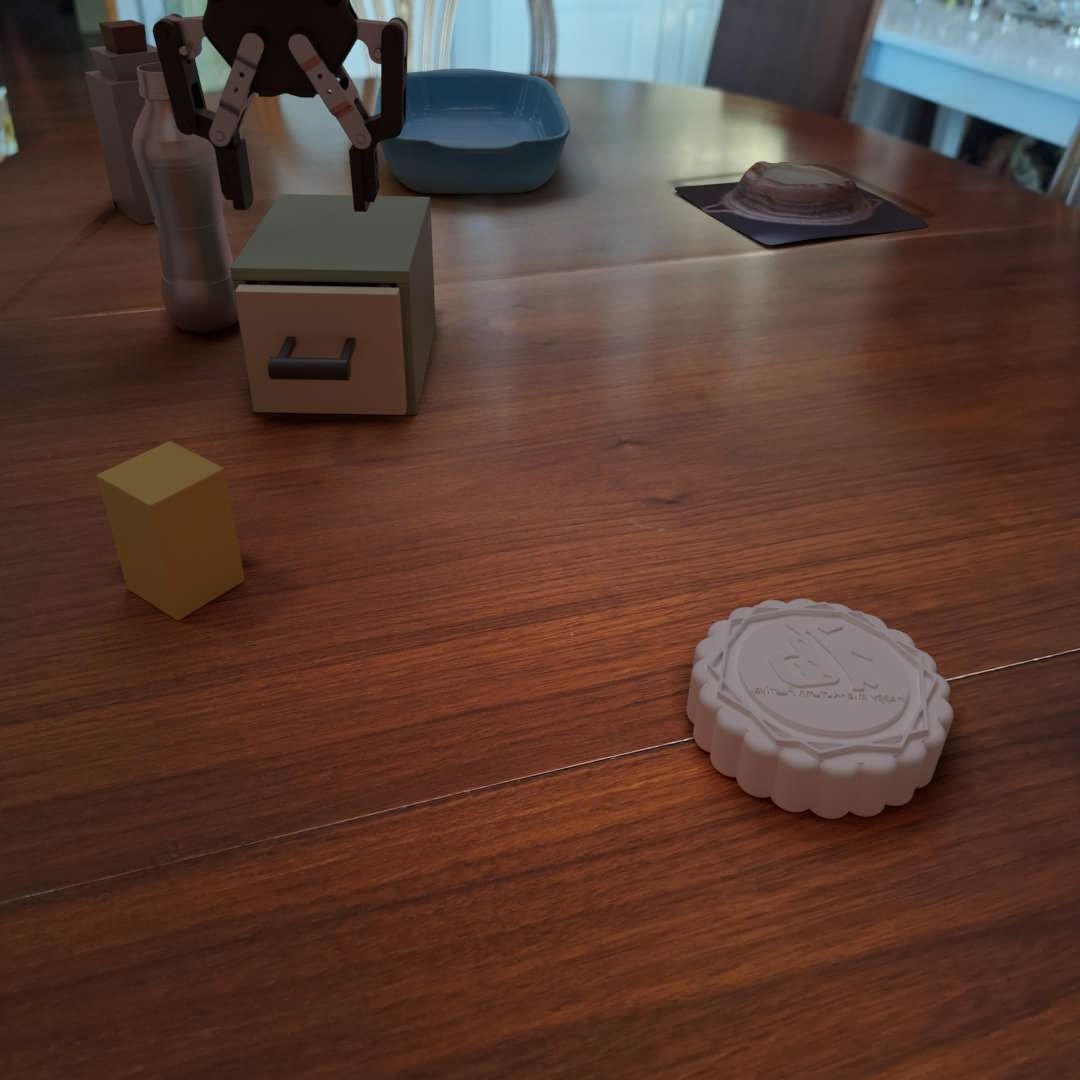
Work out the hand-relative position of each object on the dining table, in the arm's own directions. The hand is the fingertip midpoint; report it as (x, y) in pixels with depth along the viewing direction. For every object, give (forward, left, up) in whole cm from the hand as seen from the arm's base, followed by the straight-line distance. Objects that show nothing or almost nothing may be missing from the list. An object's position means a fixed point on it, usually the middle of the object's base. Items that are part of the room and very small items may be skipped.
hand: (303, 206), depth 63 cm
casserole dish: (+6, +68, -16) cm, 70 cm away
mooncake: (+28, -27, -16) cm, 42 cm away
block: (-5, -17, -16) cm, 24 cm away
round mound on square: (+43, +52, -16) cm, 69 cm away
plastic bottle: (-13, +18, -16) cm, 27 cm away
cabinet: (0, +11, -16) cm, 19 cm away
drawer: (0, +6, -15) cm, 16 cm away
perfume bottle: (-26, +47, -16) cm, 56 cm away
